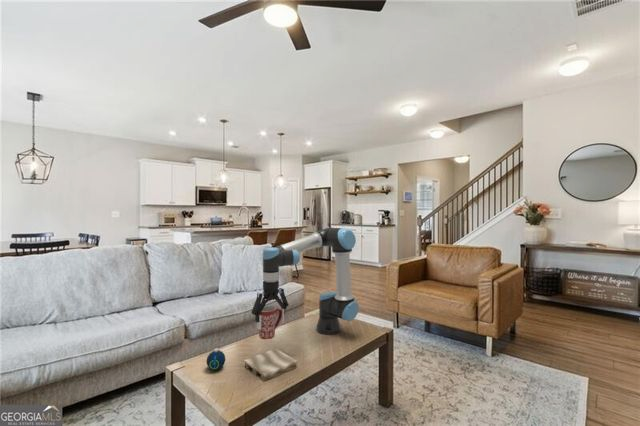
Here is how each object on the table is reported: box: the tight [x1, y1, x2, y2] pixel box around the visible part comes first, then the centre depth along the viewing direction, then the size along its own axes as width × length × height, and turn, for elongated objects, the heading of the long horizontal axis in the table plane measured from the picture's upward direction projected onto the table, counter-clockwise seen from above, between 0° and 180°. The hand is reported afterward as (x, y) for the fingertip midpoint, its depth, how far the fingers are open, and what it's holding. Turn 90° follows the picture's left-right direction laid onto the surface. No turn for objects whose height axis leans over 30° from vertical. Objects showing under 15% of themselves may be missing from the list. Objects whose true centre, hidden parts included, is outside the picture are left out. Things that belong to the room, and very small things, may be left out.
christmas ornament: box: [206, 347, 226, 371], centre depth 145 cm, size 8×8×10 cm
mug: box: [258, 304, 282, 340], centre depth 146 cm, size 13×9×14 cm
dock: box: [244, 348, 298, 382], centre depth 147 cm, size 18×18×3 cm
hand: (270, 325), depth 146 cm, fingers closed on mug, 12 cm apart
